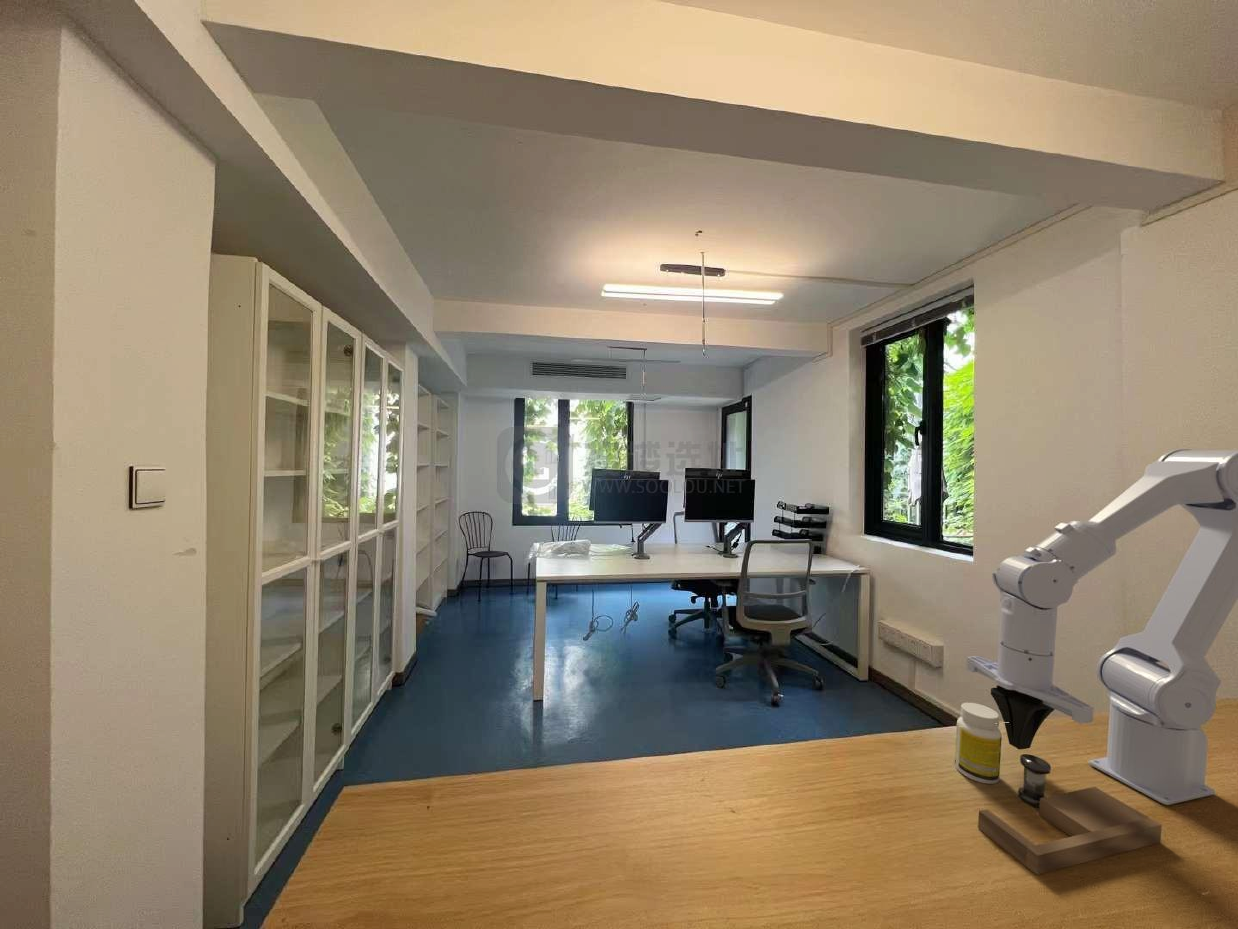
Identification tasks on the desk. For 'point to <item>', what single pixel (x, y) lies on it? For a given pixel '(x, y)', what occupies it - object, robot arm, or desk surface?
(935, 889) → the desk surface
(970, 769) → the supplement bottle
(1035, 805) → the spool post
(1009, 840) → the notched board
